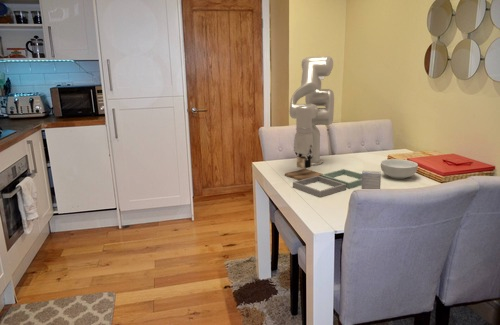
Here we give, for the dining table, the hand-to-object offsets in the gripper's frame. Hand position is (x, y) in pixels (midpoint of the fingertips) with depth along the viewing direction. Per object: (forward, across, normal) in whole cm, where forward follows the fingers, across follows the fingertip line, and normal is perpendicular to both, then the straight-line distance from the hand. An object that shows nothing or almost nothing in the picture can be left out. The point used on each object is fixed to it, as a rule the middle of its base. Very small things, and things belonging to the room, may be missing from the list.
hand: (303, 166), depth 189 cm
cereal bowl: (+6, +31, +34) cm, 46 cm away
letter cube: (+1, 0, 0) cm, 1 cm away
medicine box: (+6, +36, +7) cm, 37 cm away
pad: (+5, 0, 0) cm, 5 cm away
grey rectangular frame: (+6, +19, -8) cm, 21 cm away
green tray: (+5, +19, +10) cm, 22 cm away
